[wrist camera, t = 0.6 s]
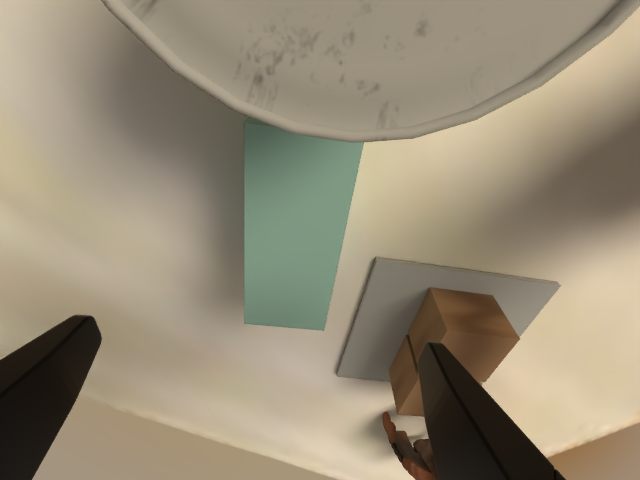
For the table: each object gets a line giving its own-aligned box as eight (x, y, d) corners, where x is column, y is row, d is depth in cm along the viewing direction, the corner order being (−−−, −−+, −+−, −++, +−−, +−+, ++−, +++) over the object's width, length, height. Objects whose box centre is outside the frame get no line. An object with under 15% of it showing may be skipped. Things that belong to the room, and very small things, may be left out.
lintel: (266, 91, 17) (244, 122, 12) (351, 104, 17) (364, 138, 12) (260, 257, 23) (244, 323, 18) (323, 264, 23) (324, 330, 18)
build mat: (557, 281, 24) (560, 285, 24) (475, 386, 32) (477, 390, 32) (376, 257, 23) (377, 260, 22) (336, 372, 31) (336, 376, 30)
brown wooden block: (462, 341, 27) (482, 385, 24) (440, 375, 30) (454, 419, 27) (405, 335, 27) (418, 379, 24) (388, 370, 30) (397, 414, 26)
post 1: (492, 295, 24) (520, 338, 21) (464, 337, 27) (485, 382, 24) (429, 286, 24) (447, 330, 20) (407, 331, 27) (420, 375, 23)
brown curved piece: (372, 393, 34) (428, 459, 26) (441, 357, 37) (507, 407, 30) (382, 473, 38) (433, 549, 30) (443, 433, 41) (503, 494, 34)
